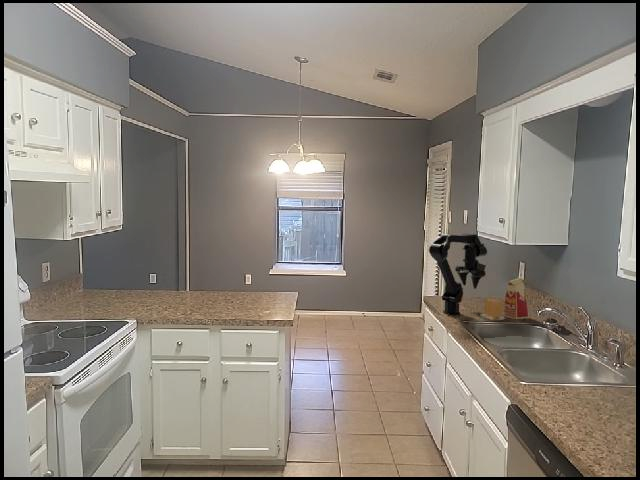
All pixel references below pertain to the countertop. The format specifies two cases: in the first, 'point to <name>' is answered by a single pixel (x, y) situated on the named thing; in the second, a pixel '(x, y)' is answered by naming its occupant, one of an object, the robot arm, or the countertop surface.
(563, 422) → the countertop surface
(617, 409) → the countertop surface
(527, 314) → the milk carton
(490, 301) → the tan cardboard-colored cube
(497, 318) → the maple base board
